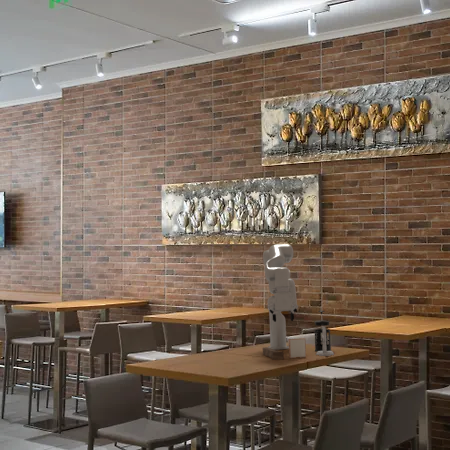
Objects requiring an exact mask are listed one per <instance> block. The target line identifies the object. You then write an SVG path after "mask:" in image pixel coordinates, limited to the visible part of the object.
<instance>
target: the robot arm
mask: <svg viewBox="0 0 450 450" xmlns="http://www.w3.org/2000/svg"><path fill="white" fill-rule="evenodd" d="M293 257H294V249H293V246H292V245H291V244H286V243H285V244H273V245H271V246H270V247H269V249H266V250H264V251H263V253H262V262H263V265H264V269H263V270H264V271H263V272H264V277H265V280H266V281H268V282H267V283H268V291H269V293H270V294H272V295H271V296H269V297H267V302H266V303H267V309H268V315H269V340H270V341H269V342H270V345H269V346H267V347H268V348H271V349H274V350H277V351H280V350H287V349H288V350H289V345H287V326H286V325H287V323H286V317H285V315H283V314H282V312H290V313H289V314H290V321H291V322H294V320H295V313H296V312H297V311H298V308H299V305H298V301H297V290H296V283H295V280H294V279H292V278H291V274H292V273H291V270H290V268H288V267H286V266H285V267H284V265H285V264H289V263H291V262H292V260H293Z"/></svg>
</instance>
